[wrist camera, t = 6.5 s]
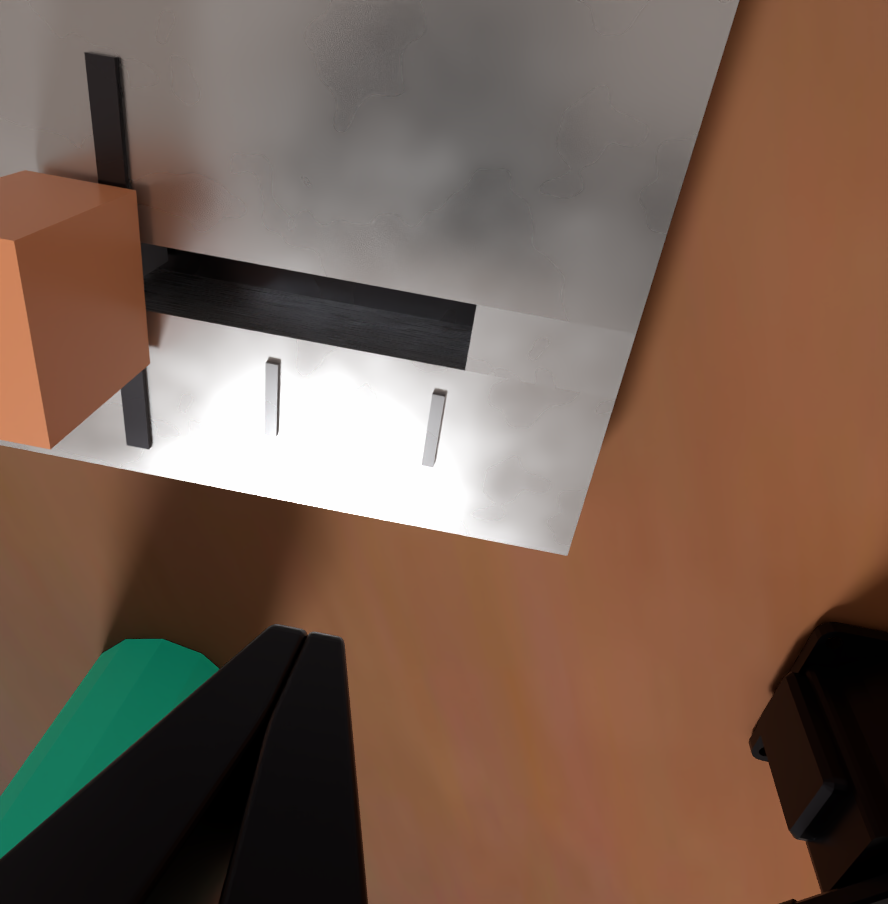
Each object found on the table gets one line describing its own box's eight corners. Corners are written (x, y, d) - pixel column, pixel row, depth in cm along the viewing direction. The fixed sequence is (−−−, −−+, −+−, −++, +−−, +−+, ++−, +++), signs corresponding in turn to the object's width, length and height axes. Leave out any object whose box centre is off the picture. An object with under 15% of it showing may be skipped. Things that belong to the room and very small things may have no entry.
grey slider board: (876, -582, 11) (983, -781, 8) (564, 491, 21) (567, 559, 19) (-383, -765, 11) (-671, -1006, 9) (-78, 367, 22) (-165, 416, 19)
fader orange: (192, 166, 17) (10, 241, 11) (198, 321, 19) (48, 450, 14) (95, 150, 17) (-133, 215, 11) (112, 305, 19) (-73, 427, 14)
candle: (86, 624, 27) (-193, 987, 17) (239, 653, 27) (50, 1040, 17) (105, 725, 30) (-120, 1081, 20) (243, 752, 30) (85, 1127, 20)
